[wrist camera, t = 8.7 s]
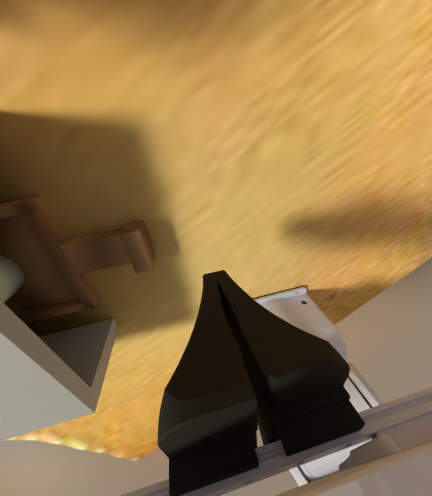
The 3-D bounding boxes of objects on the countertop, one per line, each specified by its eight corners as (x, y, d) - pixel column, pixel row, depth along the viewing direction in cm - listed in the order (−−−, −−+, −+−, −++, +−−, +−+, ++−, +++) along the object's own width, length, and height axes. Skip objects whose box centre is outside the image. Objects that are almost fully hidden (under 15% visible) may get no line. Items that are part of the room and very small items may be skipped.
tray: (129, 181, 16) (123, 187, 14) (164, 281, 21) (163, 295, 19) (-105, 219, 14) (-153, 233, 12) (1, 316, 20) (-20, 337, 18)
